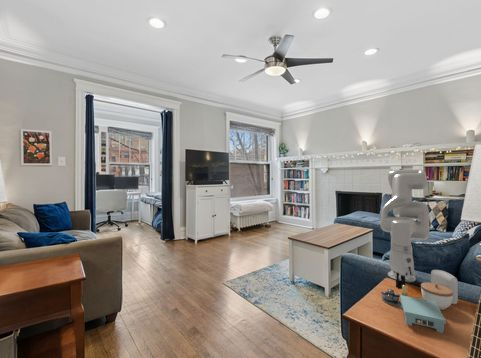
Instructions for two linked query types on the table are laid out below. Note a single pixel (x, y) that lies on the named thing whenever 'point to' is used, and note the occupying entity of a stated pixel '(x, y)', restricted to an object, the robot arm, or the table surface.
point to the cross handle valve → (393, 297)
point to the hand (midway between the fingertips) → (400, 288)
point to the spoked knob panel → (421, 312)
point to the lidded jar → (437, 294)
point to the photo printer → (446, 282)
